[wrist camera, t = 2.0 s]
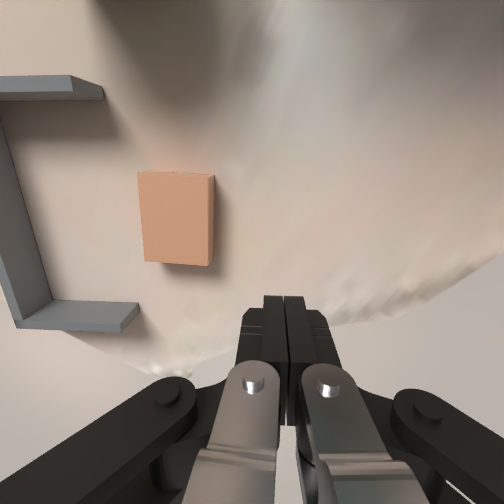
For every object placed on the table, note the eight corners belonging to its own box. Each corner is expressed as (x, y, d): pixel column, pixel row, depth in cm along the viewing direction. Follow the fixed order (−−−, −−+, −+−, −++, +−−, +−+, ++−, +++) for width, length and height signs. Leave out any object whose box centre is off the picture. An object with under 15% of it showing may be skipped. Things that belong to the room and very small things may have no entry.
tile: (214, 174, 26) (208, 177, 23) (214, 254, 29) (208, 266, 26) (151, 170, 26) (137, 173, 23) (157, 250, 29) (144, 261, 26)
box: (101, 86, 23) (69, 74, 20) (139, 310, 31) (121, 332, 27) (-20, 88, 24) (-74, 77, 20) (46, 307, 32) (16, 328, 28)
